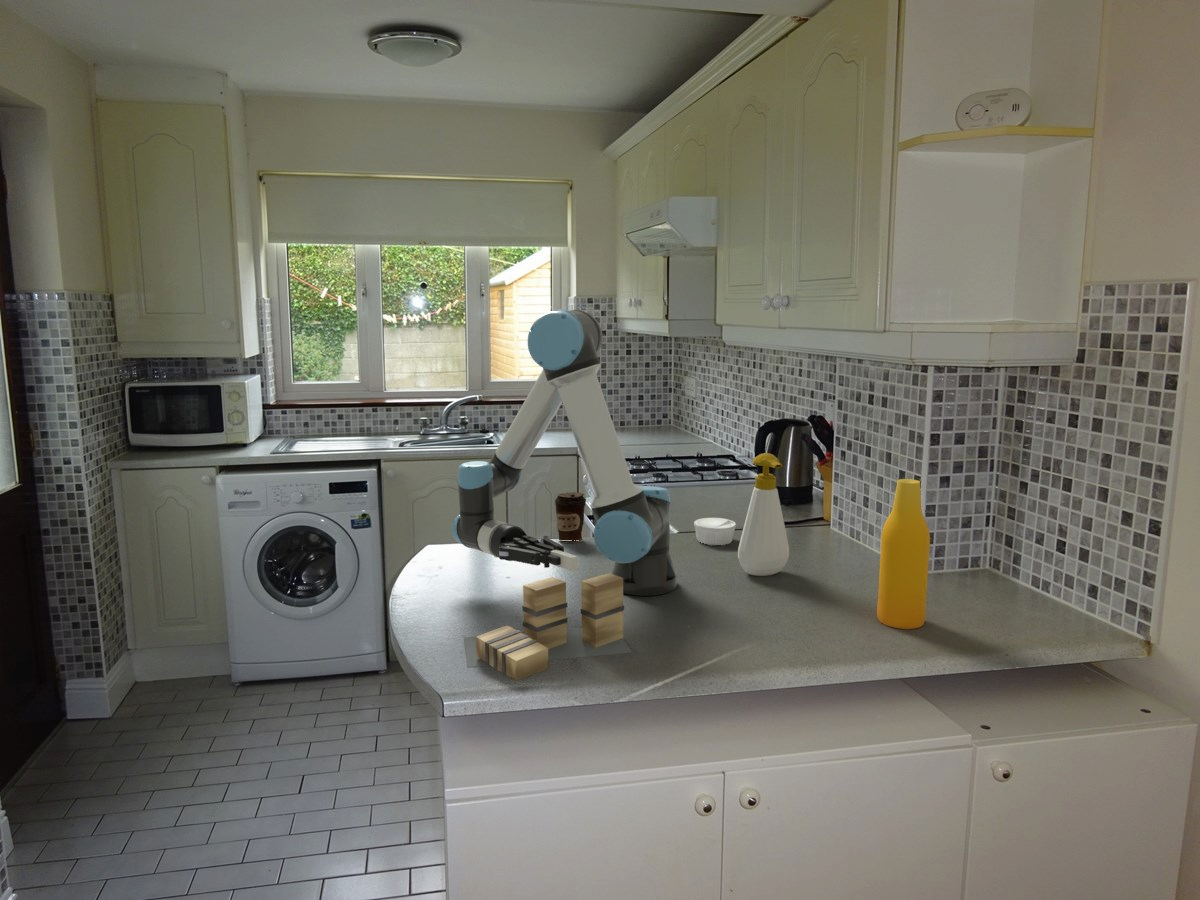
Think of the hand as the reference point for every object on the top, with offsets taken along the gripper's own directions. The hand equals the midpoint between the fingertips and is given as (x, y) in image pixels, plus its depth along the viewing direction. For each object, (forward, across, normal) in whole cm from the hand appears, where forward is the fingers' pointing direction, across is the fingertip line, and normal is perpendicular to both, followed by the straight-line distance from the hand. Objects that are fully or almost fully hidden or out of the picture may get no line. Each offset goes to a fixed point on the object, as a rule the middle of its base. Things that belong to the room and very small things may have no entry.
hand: (574, 563), depth 165 cm
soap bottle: (+4, -56, -14) cm, 57 cm away
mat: (+2, +9, -14) cm, 17 cm away
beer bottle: (+41, -51, -15) cm, 67 cm away
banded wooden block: (+8, 0, -14) cm, 15 cm away
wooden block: (+2, +9, -13) cm, 16 cm away
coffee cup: (-50, -41, -14) cm, 66 cm away
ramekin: (-23, -69, -14) cm, 74 cm away
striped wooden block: (-1, +19, -11) cm, 22 cm away
